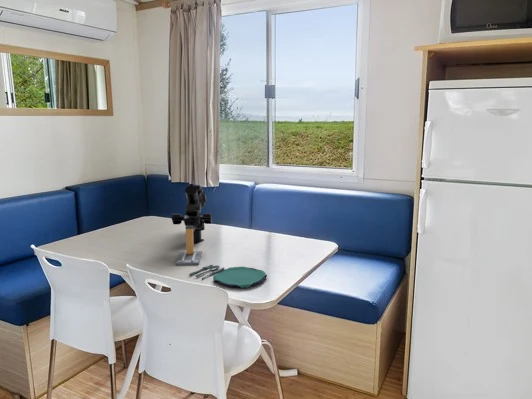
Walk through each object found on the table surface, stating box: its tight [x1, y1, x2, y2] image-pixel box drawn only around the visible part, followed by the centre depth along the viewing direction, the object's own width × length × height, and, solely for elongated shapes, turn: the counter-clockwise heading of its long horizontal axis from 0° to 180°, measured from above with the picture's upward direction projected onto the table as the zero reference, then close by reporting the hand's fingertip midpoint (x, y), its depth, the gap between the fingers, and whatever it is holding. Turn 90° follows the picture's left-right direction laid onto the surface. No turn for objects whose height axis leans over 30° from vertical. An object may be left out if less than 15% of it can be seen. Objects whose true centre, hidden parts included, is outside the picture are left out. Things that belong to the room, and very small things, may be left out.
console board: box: [175, 249, 203, 266], centre depth 186 cm, size 16×10×2 cm, turn 4°
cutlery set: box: [188, 264, 268, 289], centre depth 165 cm, size 20×30×2 cm, turn 59°
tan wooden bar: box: [185, 226, 195, 254], centre depth 189 cm, size 2×3×13 cm
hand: (191, 234), depth 194 cm, fingers closed
